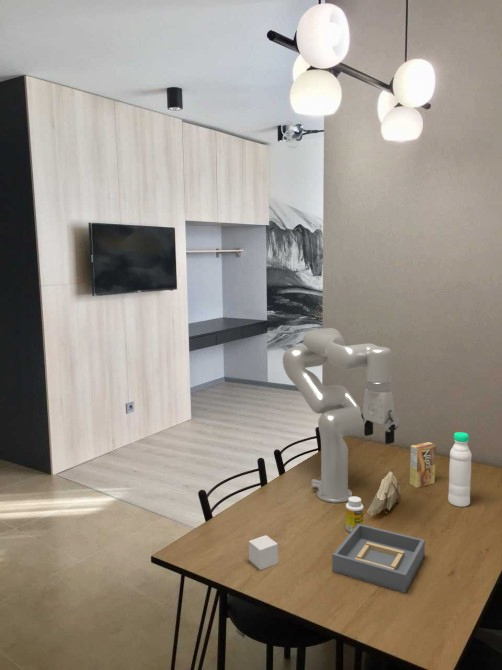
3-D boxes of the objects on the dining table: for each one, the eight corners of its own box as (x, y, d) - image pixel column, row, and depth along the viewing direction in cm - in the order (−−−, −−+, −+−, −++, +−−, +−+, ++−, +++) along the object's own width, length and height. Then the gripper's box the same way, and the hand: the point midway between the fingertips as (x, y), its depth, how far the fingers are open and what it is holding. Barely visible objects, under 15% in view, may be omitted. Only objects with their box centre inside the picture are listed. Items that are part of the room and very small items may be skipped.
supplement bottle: (354, 535, 170) (354, 504, 168) (341, 528, 174) (341, 498, 173) (367, 530, 173) (367, 499, 171) (354, 523, 177) (354, 493, 176)
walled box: (332, 571, 151) (332, 554, 150) (357, 538, 168) (358, 523, 167) (405, 593, 141) (405, 575, 140) (424, 556, 157) (424, 539, 157)
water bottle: (444, 499, 193) (446, 430, 190) (463, 497, 194) (466, 429, 190) (453, 508, 187) (456, 437, 183) (473, 506, 187) (476, 436, 183)
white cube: (249, 560, 157) (248, 540, 156) (266, 554, 160) (266, 534, 160) (260, 570, 152) (259, 550, 151) (278, 563, 155) (277, 543, 154)
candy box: (427, 479, 210) (428, 441, 208) (435, 483, 206) (436, 444, 204) (409, 484, 206) (410, 445, 204) (417, 488, 203) (418, 448, 200)
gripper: (352, 383, 178) (352, 434, 180) (389, 393, 163) (389, 448, 165) (369, 380, 182) (369, 430, 184) (408, 390, 167) (407, 444, 169)
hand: (378, 438), depth 175 cm, fingers open, 9 cm apart
